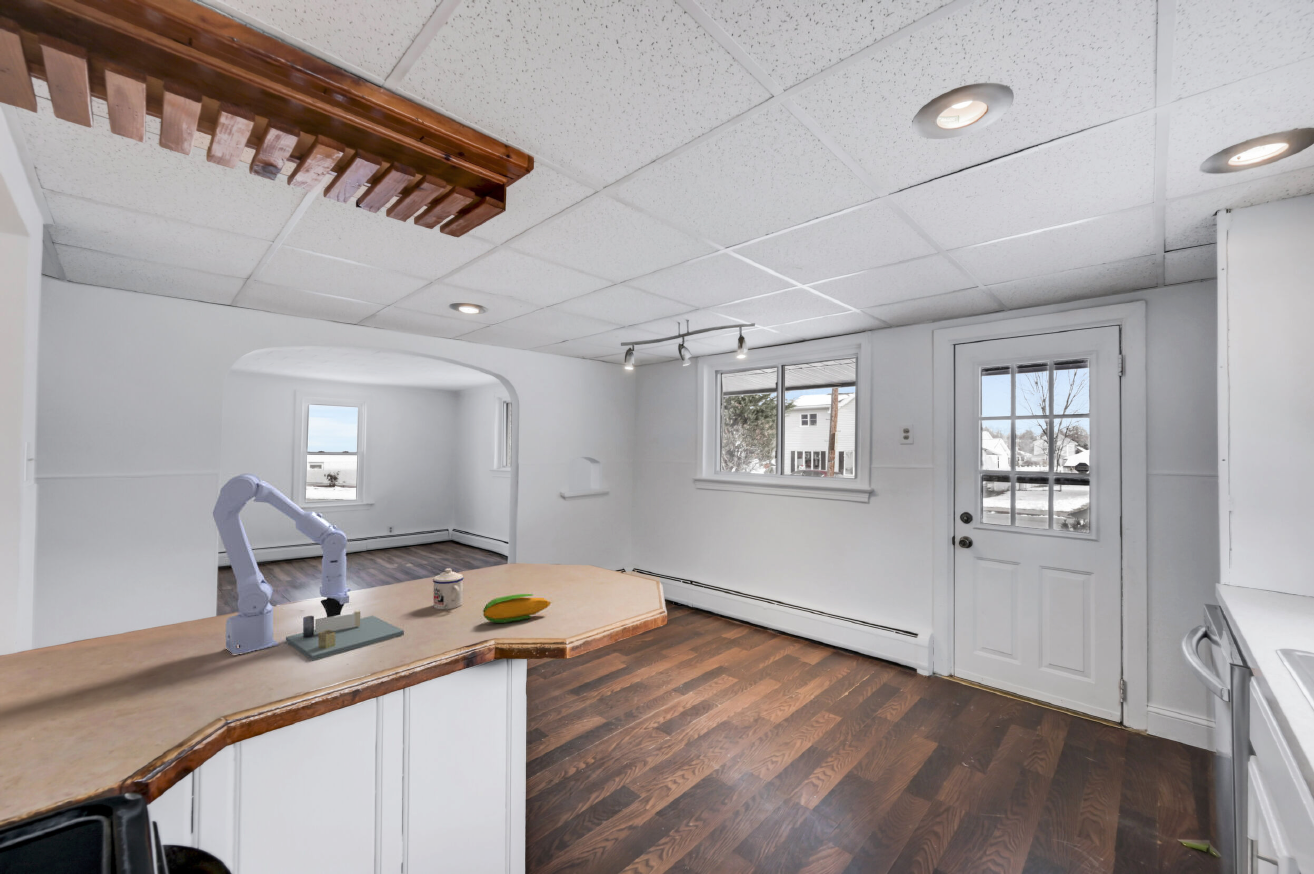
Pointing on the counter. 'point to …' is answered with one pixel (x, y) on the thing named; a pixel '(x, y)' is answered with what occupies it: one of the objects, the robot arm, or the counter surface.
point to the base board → (347, 638)
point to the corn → (513, 608)
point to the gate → (338, 622)
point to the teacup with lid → (448, 590)
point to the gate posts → (324, 638)
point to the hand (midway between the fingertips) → (333, 624)
